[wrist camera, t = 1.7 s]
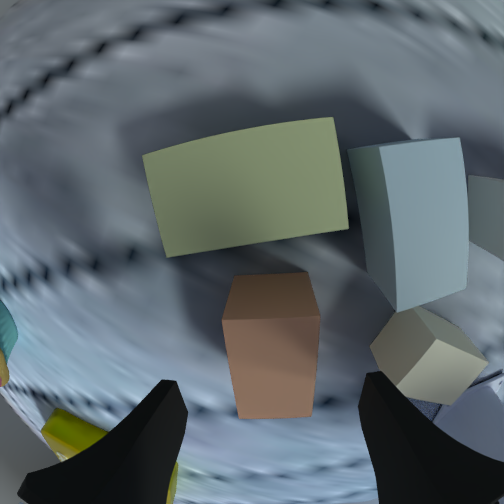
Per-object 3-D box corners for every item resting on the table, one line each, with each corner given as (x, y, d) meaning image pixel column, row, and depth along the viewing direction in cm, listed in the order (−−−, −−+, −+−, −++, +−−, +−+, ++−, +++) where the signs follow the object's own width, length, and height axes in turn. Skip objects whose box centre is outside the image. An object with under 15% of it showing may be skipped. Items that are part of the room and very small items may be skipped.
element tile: (52, 400, 20) (32, 428, 16) (180, 454, 21) (169, 492, 16) (80, 455, 25) (69, 477, 21) (176, 492, 26) (169, 518, 21)
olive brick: (312, 129, 11) (332, 116, 7) (324, 206, 12) (348, 228, 8) (180, 155, 12) (141, 155, 8) (196, 228, 13) (166, 257, 9)
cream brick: (459, 326, 14) (488, 362, 10) (428, 366, 15) (450, 405, 11) (403, 297, 13) (436, 338, 10) (368, 345, 14) (389, 393, 11)
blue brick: (424, 255, 12) (466, 288, 9) (366, 271, 13) (396, 312, 9) (410, 139, 11) (459, 137, 7) (345, 149, 11) (379, 146, 7)
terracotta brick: (305, 364, 15) (311, 416, 11) (245, 366, 15) (239, 418, 12) (307, 271, 13) (320, 315, 9) (234, 274, 13) (221, 319, 10)
